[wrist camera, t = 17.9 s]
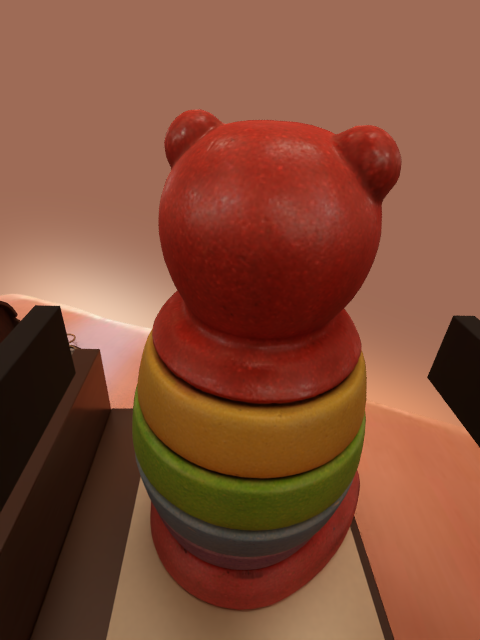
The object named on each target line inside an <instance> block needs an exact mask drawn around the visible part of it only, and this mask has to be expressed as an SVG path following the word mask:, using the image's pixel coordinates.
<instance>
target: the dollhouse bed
mask: <svg viewBox="0 0 480 640" xmlns="http://www.w3.org/2000/svg"><path fill="white" fill-rule="evenodd" d="M72 358H73V363H74V367H75V371H76V374H75V376H74V378H73V379H72V381H71V383H70V385H69V387H68V389H67V391H66V392H65V394H64V396H63V398H62V400H61V402H60V404H59V405H58V407H57V409H56V411H55V413H54V415H53V417H52V418H51V420H50V422H49V424H48V426H47V428H46V429H45V431H44V433H43V435H42V437H41V439H40V441H39V442H38V444H37V446H36V448H35V450H34V452H33V454H32V455H31V457H30V459H29V461H28V463H27V465H26V467H25V468H24V470H23V472H22V474H21V476H20V478H19V480H18V481H17V483H16V485H15V487H14V489H13V491H12V493H11V494H10V496H9V498H8V500H7V502H6V504H5V506H4V507H3V509H2V511H1V513H0V640H394V637H393V634H392V631H391V628H390V625H389V622H388V619H387V615H386V612H385V609H384V606H383V603H382V600H381V597H380V594H379V591H378V588H377V585H376V582H375V579H374V575H373V572H372V569H371V566H370V563H369V560H368V557H367V554H366V551H365V548H364V545H363V542H362V538H361V535H360V532H359V529H358V526H357V523H356V520H355V517H354V516H353V520H352V523H351V525H350V527H349V530H348V532H347V534H346V536H345V538H344V540H343V542H342V544H341V546H340V547H339V549H338V550H337V552H336V553H335V554H334V556H333V557H332V558H331V560H330V561H329V562H328V563H327V565H326V566H325V567H324V568H323V569H322V570H321V571H320V572H319V573H318V574H317V575H316V576H315V577H314V578H313V579H312V580H310V581H309V582H308V583H307V584H306V585H304V586H303V587H301V588H300V589H299V590H297V591H296V592H294V593H293V594H292V595H290V596H288V597H287V598H285V599H283V600H281V601H279V602H277V603H274V604H272V605H269V606H265V607H260V608H255V609H242V610H237V609H230V608H224V607H220V606H215V605H213V604H210V603H207V602H205V601H203V600H201V599H199V598H197V597H195V596H194V595H192V594H190V593H189V592H187V591H186V590H185V589H184V588H183V587H182V586H180V585H179V584H178V583H177V582H176V581H175V580H174V579H173V578H172V576H171V575H170V574H169V573H168V572H167V570H166V568H165V567H164V565H163V564H162V562H161V560H160V558H159V556H158V554H157V551H156V549H155V546H154V542H153V539H152V534H151V525H150V512H151V500H150V498H149V496H148V493H147V491H146V489H145V486H144V484H143V481H142V479H141V475H140V472H139V469H138V466H137V462H136V457H135V449H134V444H133V434H132V422H133V409H111V407H110V401H109V396H108V391H107V386H106V380H105V375H104V370H103V364H102V359H101V354H100V349H75V350H74V352H73V353H72Z"/></svg>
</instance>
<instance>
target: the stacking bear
mask: <svg viewBox="0 0 480 640" xmlns="http://www.w3.org/2000/svg"><path fill="white" fill-rule="evenodd" d="M164 143H165V152H166V157H167V159H168V162H169V164H170V166H171V172H170V174H169V176H168V178H167V179H166V182H165V185H164V188H163V192H162V195H161V200H160V206H159V236H160V242H161V247H162V252H163V256H164V260H165V263H166V265H167V268H168V270H169V273H170V275H171V278H172V280H173V282H174V285H175V286H176V288H177V290H178V291H176V292H175V293H174V294H173V295H172V296H171V297H170V298H169V299H168V300H167V302H166V303H165V304H164V305H163V307H162V308H161V310H160V311H159V313H158V315H157V317H156V319H155V321H154V325H153V329H152V331H151V332H150V334H149V336H148V338H147V341H146V344H145V347H144V350H143V354H142V359H141V364H140V369H139V376H138V384H137V387H136V391H135V397H134V406H133V422H132V434H133V444H134V449H135V457H136V462H137V466H138V469H139V472H140V475H141V479H142V481H143V484H144V486H145V489H146V491H147V493H148V496H149V498H150V500H151V512H150V525H151V534H152V539H153V542H154V546H155V549H156V551H157V554H158V556H159V558H160V560H161V562H162V564H163V565H164V567H165V568H166V570H167V572H168V573H169V574H170V575H171V576H172V578H173V579H174V580H175V581H176V582H177V583H178V584H179V585H180V586H182V587H183V588H184V589H185V590H186V591H187V592H189V593H190V594H192V595H194V596H195V597H197V598H199V599H201V600H203V601H205V602H207V603H210V604H213V605H215V606H220V607H224V608H230V609H237V610H242V609H255V608H260V607H265V606H269V605H272V604H274V603H277V602H279V601H281V600H283V599H285V598H287V597H288V596H290V595H292V594H293V593H294V592H296V591H297V590H299V589H300V588H301V587H303V586H304V585H306V584H307V583H308V582H309V581H310V580H312V579H313V578H314V577H315V576H316V575H317V574H318V573H319V572H320V571H321V570H322V569H323V568H324V567H325V566H326V565H327V563H328V562H329V561H330V560H331V558H332V557H333V556H334V554H335V553H336V552H337V550H338V549H339V547H340V546H341V544H342V542H343V540H344V538H345V536H346V534H347V532H348V530H349V527H350V525H351V523H352V520H353V516H354V513H355V510H356V506H357V502H358V496H359V488H360V481H359V474H358V471H357V468H358V464H359V461H360V457H361V452H362V447H363V441H364V435H365V423H366V417H365V405H366V379H367V377H366V366H365V360H364V356H363V353H362V351H361V341H360V337H359V334H358V332H357V330H356V327H355V325H354V323H353V321H352V320H351V318H350V316H349V315H348V313H347V312H346V310H345V309H344V308H345V307H346V305H347V304H348V303H349V302H350V301H351V300H352V299H353V298H354V296H355V295H356V293H357V292H358V291H359V289H360V288H361V286H362V284H363V283H364V281H365V279H366V277H367V275H368V273H369V271H370V269H371V267H372V264H373V262H374V259H375V256H376V253H377V250H378V246H379V242H380V237H381V224H382V223H381V221H382V207H381V205H382V202H383V199H384V198H385V196H386V195H387V194H388V193H389V191H390V190H391V189H392V188H393V186H394V185H395V184H396V182H397V180H398V178H399V176H400V170H401V156H400V152H399V149H398V147H397V145H396V143H395V141H394V140H393V138H392V137H391V136H390V135H389V134H388V133H387V132H386V131H384V130H383V129H381V128H378V127H376V126H371V125H361V126H355V127H353V128H351V129H349V130H346V131H344V132H342V133H340V134H334V133H332V132H330V131H328V130H325V129H322V128H319V127H316V126H313V125H308V124H303V123H298V122H287V121H274V120H248V121H240V122H233V123H229V124H224V123H222V122H221V121H219V120H218V119H217V118H216V117H215V116H213V115H212V114H210V113H209V112H206V111H204V110H188V111H186V112H183V113H182V114H181V115H179V116H178V117H176V118H175V120H174V121H173V122H172V123H171V125H170V127H169V128H168V131H167V133H166V137H165V142H164Z"/></svg>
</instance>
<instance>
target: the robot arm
mask: <svg viewBox="0 0 480 640" xmlns="http://www.w3.org/2000/svg"><path fill="white" fill-rule="evenodd" d="M75 374H76V371H75V367H74V363H73V358H72V354H71V350H70V346H69V342H68V338H67V333H66V329H65V325H64V321H63V317H62V312H61V308H60V306H37V305H35V306H34V307H33V308H32V309H31V311H30V312H29V313H28V314H27V315H26V316H25V317H24V318H23V319H22V320H21V321H20V323H19V324H18V325H17V326H16V327H15V328H14V329H13V330H12V331H11V332H10V333H9V334H8V336H7V337H6V338H5V339H4V340H3V341H2V342H1V343H0V513H1V511H2V509H3V507H4V506H5V504H6V502H7V500H8V498H9V496H10V494H11V493H12V491H13V489H14V487H15V485H16V483H17V481H18V480H19V478H20V476H21V474H22V472H23V470H24V468H25V467H26V465H27V463H28V461H29V459H30V457H31V455H32V454H33V452H34V450H35V448H36V446H37V444H38V442H39V441H40V439H41V437H42V435H43V433H44V431H45V429H46V428H47V426H48V424H49V422H50V420H51V418H52V417H53V415H54V413H55V411H56V409H57V407H58V405H59V404H60V402H61V400H62V398H63V396H64V394H65V392H66V391H67V389H68V387H69V385H70V383H71V381H72V379H73V378H74V376H75ZM427 378H428V379H429V380H430V382H431V383H432V384H433V386H434V387H435V388H436V390H437V391H438V392H439V393H440V395H441V396H442V398H443V399H444V400H445V402H446V403H447V404H448V406H449V407H450V408H451V410H452V411H453V412H454V414H455V415H456V416H457V418H458V419H459V420H460V422H461V423H462V424H463V426H464V427H465V428H466V430H467V431H468V432H469V434H470V435H471V436H472V438H473V439H474V440H475V442H476V443H477V444H478V446H479V447H480V320H479V319H478V318H476V317H475V316H453V318H452V320H451V322H450V325H449V327H448V330H447V332H446V334H445V336H444V339H443V341H442V344H441V346H440V348H439V351H438V353H437V356H436V358H435V360H434V363H433V365H432V368H431V370H430V372H429V375H428V377H427Z"/></svg>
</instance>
